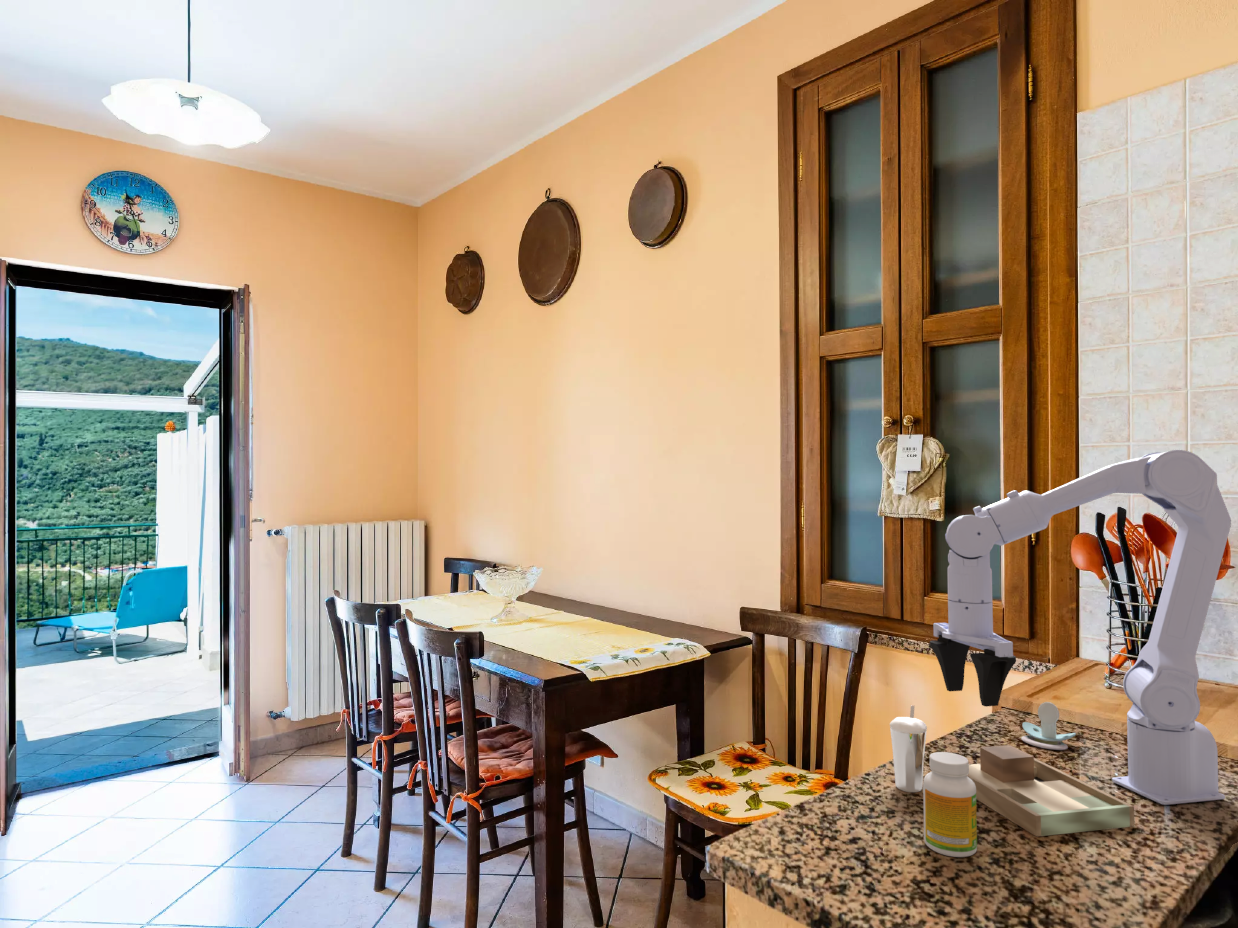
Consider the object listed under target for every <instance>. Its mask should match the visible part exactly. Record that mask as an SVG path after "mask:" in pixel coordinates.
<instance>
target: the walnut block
mask: <svg viewBox="0 0 1238 928" xmlns="http://www.w3.org/2000/svg"><path fill="white" fill-rule="evenodd" d="M979 752H980V753H979V754H980V755H979V756H980V759H979V760H980V761H979V762H980V763H979V764H980V768H981V770H982V771H983V772H985V773H987V774H989V775H990V776H992V777H994V778H996V779H998V780H999V781H1001V782H1003V783H1006V782H1017V781H1029V780H1034V758H1035V757H1034V756H1033V755H1031V754H1029V753H1027V752H1025V751H1023V750H1021V749H1018V748H1016V747H1014V746H1012V745H1010V744H1007V745H1006V744H1005V745H996V746H995V745H994V746H981V747H980V748H979Z"/></svg>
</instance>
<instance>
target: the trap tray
mask: <svg viewBox="0 0 1238 928" xmlns="http://www.w3.org/2000/svg"><path fill="white" fill-rule="evenodd" d="M967 777H969V778H970V779H971V780H972V781H973V782H974V783H975V786H976V801H978V802H981V804H983V805H985V806H987V807H989V808H990V809H991V810H992V811H995V812H996V813H998V814H1000V815H1001V816H1003V817H1004V818H1006V819H1007V820H1009V821H1010V822H1012V823H1014V824H1015V825H1017V826H1019V827H1020V828H1022V829H1024V830H1025V831H1027V832H1028V833H1030V834H1032V835H1033V836H1035V837H1044V836H1045V837H1046V836H1052V835H1053V836H1054V835H1064V834H1073V833H1080V832H1081V833H1083V832H1092V831H1102V830H1112V829H1120V828H1121V829H1122V828H1130V827H1135V806H1134V805H1132V804H1130V803H1128V802H1126V801H1124V800H1122V799H1119V797H1118V798H1117V797H1115V796H1114V795H1112V794H1110V793H1108V792H1105V791H1104V790H1101V789H1100V788H1097V787H1095V786H1092V785H1091V784H1089V783H1087V782H1084V781H1083V780H1081V779H1078V778H1076V777H1075V776H1072V775H1070V774H1068V773H1067V772H1064V771H1062V770H1060V769H1059V768H1056V767H1053V766H1052V765H1049V764H1047V763H1045V762H1044V761H1041V760H1039V759H1037V758H1035V757H1034V780H1029V781H1017V782H1006V783H1003V782H1001V781H999V780H998V779H996V778H994V777H992V776H990V775H989V774H987V773H985V772H983V771H982V770H981V768H980V763H973V764H970V763H969V774H968V775H967Z"/></svg>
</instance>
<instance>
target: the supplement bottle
mask: <svg viewBox="0 0 1238 928" xmlns="http://www.w3.org/2000/svg"><path fill="white" fill-rule="evenodd" d="M928 765H929V769H930V772H928V773H927V774H925V775H924V776H923V786H922V791H923V793H922V796H923V840H924V843H925V845H926V846H927V847H928V848H929V849H930V850H932V851H934V852H936V853H938V854H941V855H944V856H948V857H954V858H965V857H966V858H967V857H970V856H973V855H974V854H976V852H977V850H978V827H977V826H978V825H977V823H978V822H977V821H978V820H977V818H978V817H977V799H976V786H975V783H974V782H973V781H972V780H971V779H970V778H969V777H967V775H968V774H969V765H970V763H969V759H968V758H967V757H965V756H963V755H960V754H958V753H955V752H947V751H937V752H933V753H930V754H929V764H928Z"/></svg>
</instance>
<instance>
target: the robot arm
mask: <svg viewBox="0 0 1238 928" xmlns="http://www.w3.org/2000/svg"><path fill="white" fill-rule="evenodd" d="M1112 494H1139V495H1140V494H1141V495H1143V496H1144V497H1146V498H1147V499H1149V500H1150V501H1152V503H1153V502H1154V503H1155V504H1156V505H1158V506H1159V507H1161V508H1162V510H1163V511H1164V512H1165V513H1166V514H1167V516H1169V517H1170V519H1171V520H1172V521H1173V522H1174V524H1176V526H1177V533H1176V537H1175V539H1174V545H1173V547H1172V552H1171V556H1170V558H1169V562H1168V565H1167V566H1168V567H1167V571H1166V574H1165V577H1164V581H1163V586H1162V590H1161V593H1160V597H1159V599H1158V604H1157V607H1156V612H1155V615H1154V619H1153V623H1152V626H1151V630H1150V633H1149V637H1148V641H1147V642H1146V644H1145V645H1143V647H1142V648H1141V649H1140V651H1139V652H1138V653H1139V654H1138V656H1137V660H1136V661H1135V663H1134V664H1133V665H1132V666H1131V667H1130V668H1129V669H1128V670H1127V671H1126V672H1125V674H1124V677H1123V679H1122V680H1123V681H1122V686H1123V687H1122V688H1123V691H1124V694H1125V695H1126V697H1127V698H1128V699H1129V701H1131V703H1132V704H1131V707H1130V708H1129V710H1128V711H1127V713H1126V717H1127V718H1126V726H1127V729H1126V730H1127V775H1126V776H1118V777H1117V776H1116V777H1111V782H1113V783H1115V784H1117V785H1119V786H1121V787H1123V788H1126V789H1128V790H1129V791H1131V792H1135V793H1137V794H1138V795H1140V796H1142V797H1145V798H1147V799H1149V800H1151V801H1154V802H1156V803H1157V804H1160V805H1163V806H1164V805H1165V806H1167V805H1169V806H1170V805H1176V804H1177V805H1179V804H1188V803H1197V802H1198V803H1199V802H1209V801H1216V800H1217V801H1218V800H1226V795H1225V794H1224V793H1221V792H1219V762H1218V759H1219V757H1218V753H1219V751H1218V745H1217V741H1216V739H1215V737H1214V736H1213V733H1212V732H1211V730H1209V728H1207V726H1206V725H1204V724H1202V723H1201V722H1199V721H1196V719H1197V718H1198V716H1199V714H1200V711H1201V701H1200V698H1199V695H1198V689H1197V687H1198V681H1199V679H1200V675H1199V670H1198V665H1197V660H1196V655H1197V650H1198V647H1199V644H1200V640H1201V637H1202V633H1203V630H1204V625H1205V623H1206V618H1207V615H1208V611H1209V608H1210V604H1211V600H1212V597H1213V593H1214V589H1215V586H1216V583H1217V582H1216V581H1217V578H1218V575H1219V571H1220V568H1221V567H1220V566H1221V564H1222V560H1223V556H1224V553H1225V548H1226V545H1227V541H1228V538H1229V534H1230V531H1231V530H1230V529H1231V526H1232V525H1231V524H1232V518H1231V516H1230V513H1229V511H1228V509H1227V506H1226V504H1225V501H1224V499H1223V496H1222V493H1221V490H1220V488H1219V485H1218V474H1217V472H1216V471H1214V469H1213V468H1212V467H1210V465H1208V464H1207V463H1206V461H1204V460H1203V459H1202V458H1201V457H1200V456H1199V455H1197V454H1195V453H1193V452H1191V451H1188V450H1183V449H1172V450H1168V451H1165V452H1161V451H1155V452H1151V453H1146V454H1144V455H1143V456H1141V457H1134V458H1130V459H1126V460H1123V461H1119V462H1114V463H1112V464H1109V465H1108V464H1107V465H1106V466H1103V467H1101V468H1099V469H1097V470H1094V471H1092V472H1090V473H1088V474H1085V475H1083V476H1081V477H1078V478H1076V479H1073V480H1071V481H1069V482H1067V483H1064V484H1063V485H1060V486H1058V487H1056V488H1054V489H1051V490H1048V491H1046V492H1044V493H1042V494H1039V493H1036V492H1033V491H1030V490H1022V491H1021V492H1018V490H1014V489H1013V490H1011V491H1009V492H1008V493H1006V496H1007V497H1006V498H1004V499H1001V500H999V501H997V502H993V503H992V504H989V505H987V506H985V507H981V506H980V505H978V506H975V507H973V508H972V510H973V512H974V514H965V515H964V514H963V515H959V516H958V517H957V516H956V518H954V519H952V520H951V522H950V523H949V524H948V526H947V527H946V528H947V529H946V532H945V534H944V537H945V541H946V543H947V544H948V547H949V548H950V549H949V551H948V554H947V561H948V564H949V565H948V566H947V610H948V611H947V618H948V620H947V621H948V623H947V622H934V623H933V624H932V625H933V626H932V627H933V637H935V638H937V640H936V639H935V640H930V641H929V646H930V648H931V650H932V651H933V653H934V655H935V657H936V659H937V661H938V664H939V666H940V670H941V674H942V676H943V677H942V678H943V681H944V684H945V687H946V691H948V692H962V691H963V688H964V681H965V670H966V669H965V667H966V661H967V657H968V653H969V651H970V648H971V647H972V648H975V649H977V650H982V651H983V652H974V653H973V652H972V653H970V654H969V656H970V659H971V660H972V663H973V666H974V668H975V672H976V677H977V682H978V690H979V691H978V692H979V693H978V694H979V700H980V703H981V706H982V707H987V708H988V707H998V706H999V703H1000V699H1001V696H1002V693H1003V692H1002V691H1003V688H1004V686H1005V685H1004V684H1005V681H1006V679H1007V676H1008V674H1009V673H1010V671H1011V670H1012V668H1013V667H1014V665H1015V664H1016V662H1017V657H1016V656H1015V655H1014V643H1013V641H1010V640H1008V639H1005V638H1004V637H1002V636H1000V635H998V634H997V633H995V632H994V617H993V613H994V612H993V609H994V607H993V570H992V568H991V553H990V552H991V551H992V549H993V547H994V545H998V546H1000V547H1002V546H1004V545H1007V544H1009V543H1010V544H1011V542H1012V543H1013V542H1014V541H1017V540H1020V539H1022V538H1025V537H1028V536H1030V535H1032V534H1033V535H1034V534H1035V533H1038V532H1040V531H1043V530H1045V529H1047V528H1048V526H1049V523H1050V520H1051V519H1052V517H1053V516H1054V515H1057V514H1059V513H1062V512H1065V511H1068V510H1071V509H1074V508H1076V507H1079V506H1081V505H1085V504H1087V503H1090V502H1093V501H1096V500H1099V499H1102V498H1104V497H1108V496H1110V495H1112Z"/></svg>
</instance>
